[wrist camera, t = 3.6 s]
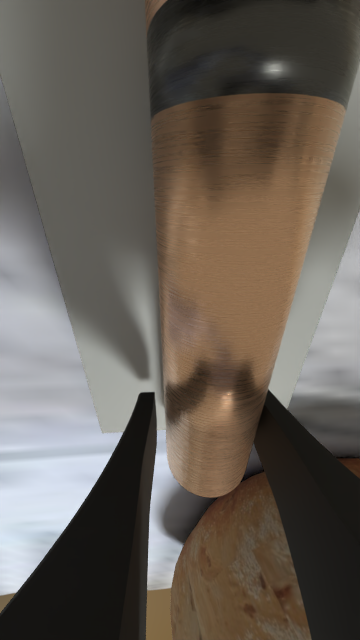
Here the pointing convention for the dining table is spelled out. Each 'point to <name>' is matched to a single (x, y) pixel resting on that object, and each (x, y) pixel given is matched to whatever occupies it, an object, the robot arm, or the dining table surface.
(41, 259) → the dining table surface
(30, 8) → the pale gray board
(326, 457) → the robot arm
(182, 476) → the copper tube
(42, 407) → the dining table surface
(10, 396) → the dining table surface
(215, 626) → the bread
